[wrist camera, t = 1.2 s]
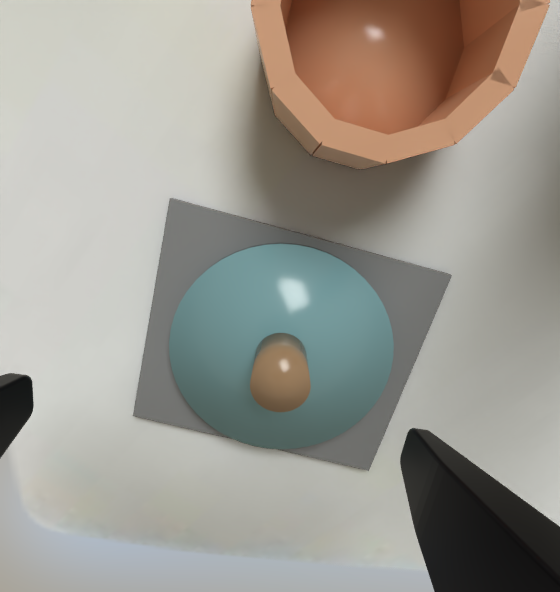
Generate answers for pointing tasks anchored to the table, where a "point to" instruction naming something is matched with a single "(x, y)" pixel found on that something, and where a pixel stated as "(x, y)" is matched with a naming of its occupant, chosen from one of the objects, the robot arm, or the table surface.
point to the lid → (281, 346)
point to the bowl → (390, 70)
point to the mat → (245, 233)
